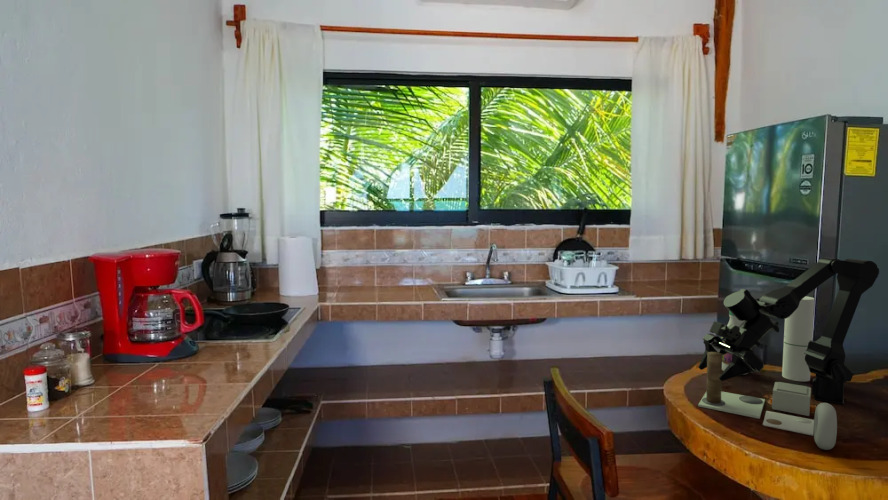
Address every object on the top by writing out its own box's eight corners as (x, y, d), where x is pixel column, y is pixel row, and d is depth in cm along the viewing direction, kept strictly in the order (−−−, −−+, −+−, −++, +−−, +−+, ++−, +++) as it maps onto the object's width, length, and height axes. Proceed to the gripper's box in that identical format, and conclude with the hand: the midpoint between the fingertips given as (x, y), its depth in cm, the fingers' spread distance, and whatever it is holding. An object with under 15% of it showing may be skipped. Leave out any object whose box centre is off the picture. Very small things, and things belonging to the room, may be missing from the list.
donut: (836, 459, 109) (839, 413, 108) (816, 455, 111) (819, 410, 110) (830, 440, 118) (833, 397, 117) (812, 437, 119) (814, 395, 118)
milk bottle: (742, 368, 170) (744, 307, 168) (753, 375, 162) (756, 312, 160) (717, 367, 170) (719, 307, 169) (727, 375, 163) (730, 312, 161)
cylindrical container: (807, 375, 162) (811, 296, 160) (812, 382, 155) (816, 300, 153) (780, 372, 165) (784, 294, 163) (784, 379, 158) (788, 298, 156)
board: (764, 401, 141) (764, 398, 141) (759, 418, 130) (759, 415, 130) (707, 390, 149) (707, 388, 149) (698, 406, 138) (698, 403, 138)
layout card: (813, 421, 128) (814, 419, 128) (813, 435, 120) (813, 434, 120) (766, 411, 134) (766, 410, 134) (762, 425, 126) (762, 423, 126)
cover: (809, 406, 138) (811, 386, 137) (809, 416, 131) (810, 395, 131) (774, 399, 142) (775, 380, 142) (771, 408, 136) (772, 388, 135)
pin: (723, 401, 139) (724, 353, 138) (716, 404, 137) (717, 356, 136) (710, 397, 142) (711, 351, 141) (703, 400, 140) (704, 353, 139)
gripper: (710, 305, 147) (671, 344, 147) (754, 319, 128) (710, 364, 128) (735, 331, 148) (697, 370, 148) (783, 349, 130) (739, 394, 130)
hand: (709, 374), depth 139 cm, fingers open, 9 cm apart
